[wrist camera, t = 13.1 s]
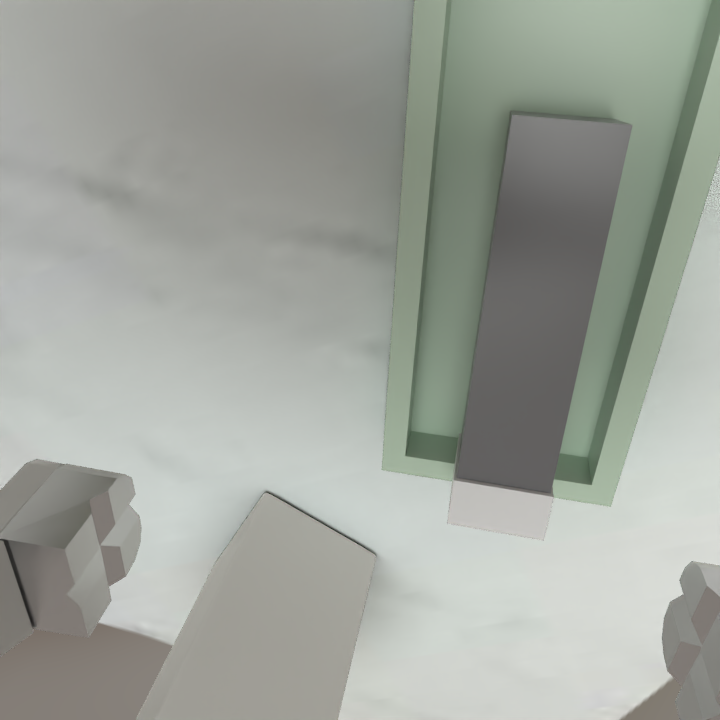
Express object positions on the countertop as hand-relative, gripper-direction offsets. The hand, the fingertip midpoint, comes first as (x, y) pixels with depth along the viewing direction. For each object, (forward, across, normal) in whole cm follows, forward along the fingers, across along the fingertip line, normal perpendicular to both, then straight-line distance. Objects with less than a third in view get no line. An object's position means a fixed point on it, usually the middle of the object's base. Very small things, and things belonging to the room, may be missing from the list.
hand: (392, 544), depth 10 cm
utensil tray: (+18, -3, +2) cm, 19 cm away
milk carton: (+19, +7, +22) cm, 30 cm away
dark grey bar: (+17, -3, +4) cm, 18 cm away
